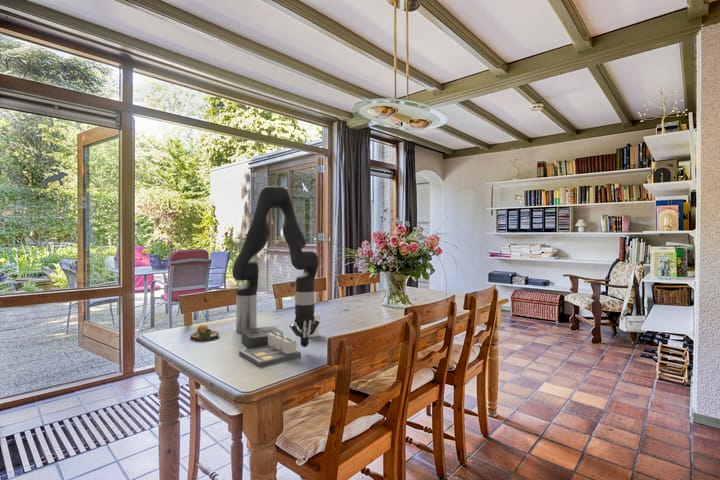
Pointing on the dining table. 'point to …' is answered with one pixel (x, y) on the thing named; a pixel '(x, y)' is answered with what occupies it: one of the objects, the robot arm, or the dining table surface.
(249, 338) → the streaming box
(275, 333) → the tab
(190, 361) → the dining table surface
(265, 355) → the switch board
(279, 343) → the tab
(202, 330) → the wood slice table decoration
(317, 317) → the white cup
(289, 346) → the cream striped block
